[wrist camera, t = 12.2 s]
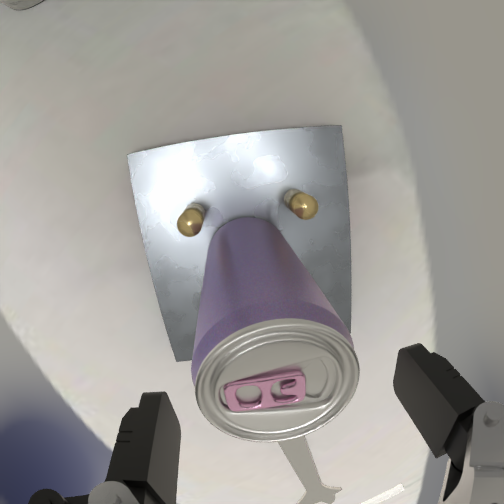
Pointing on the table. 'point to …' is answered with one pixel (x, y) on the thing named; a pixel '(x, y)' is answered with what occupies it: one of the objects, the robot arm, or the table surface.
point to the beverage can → (267, 340)
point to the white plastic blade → (385, 495)
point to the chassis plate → (242, 211)
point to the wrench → (307, 472)
